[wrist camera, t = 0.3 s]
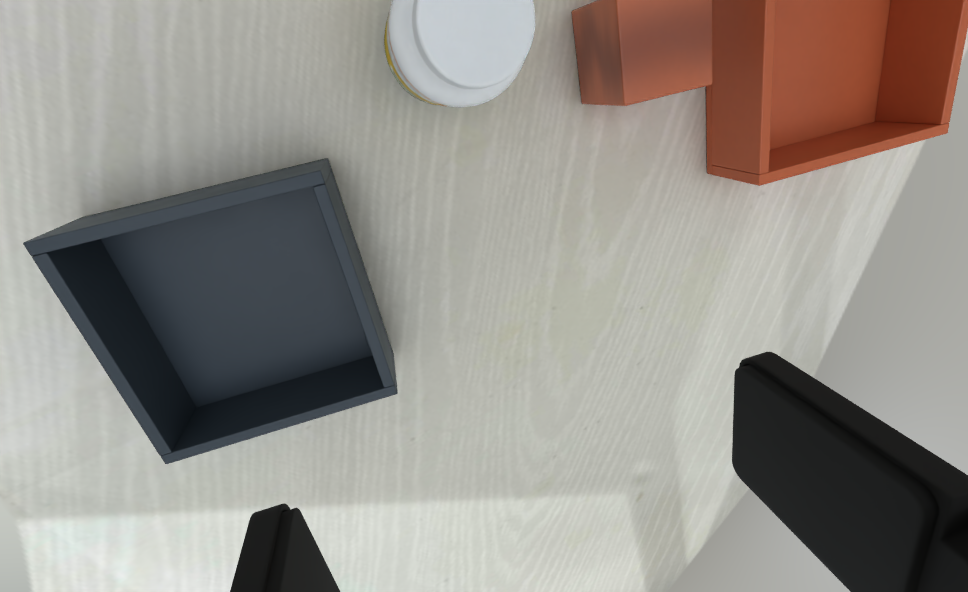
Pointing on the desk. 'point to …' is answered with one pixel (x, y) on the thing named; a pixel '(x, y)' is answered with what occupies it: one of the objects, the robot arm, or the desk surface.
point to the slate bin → (225, 307)
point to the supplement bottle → (458, 47)
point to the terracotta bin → (827, 81)
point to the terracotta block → (642, 49)
